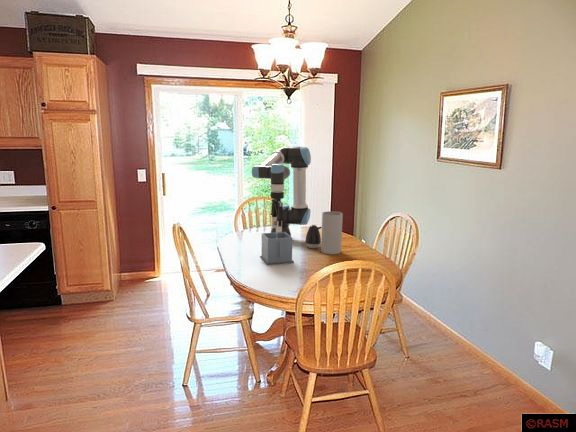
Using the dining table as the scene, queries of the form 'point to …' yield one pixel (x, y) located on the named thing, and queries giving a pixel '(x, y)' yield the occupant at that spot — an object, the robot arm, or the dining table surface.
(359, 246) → the dining table surface
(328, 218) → the cylinder vase
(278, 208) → the robot arm
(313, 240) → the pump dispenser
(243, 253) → the dining table surface
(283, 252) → the grey open bin
